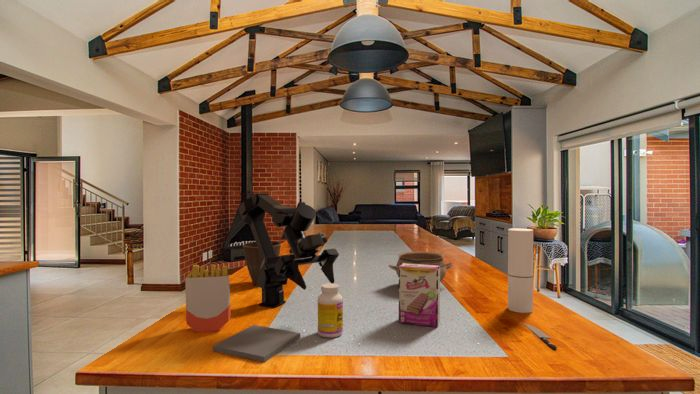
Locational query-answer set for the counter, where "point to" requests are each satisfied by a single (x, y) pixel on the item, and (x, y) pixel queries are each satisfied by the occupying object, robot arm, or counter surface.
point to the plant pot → (256, 258)
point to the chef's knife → (541, 336)
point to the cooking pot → (422, 261)
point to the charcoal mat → (257, 343)
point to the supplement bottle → (330, 311)
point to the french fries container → (207, 299)
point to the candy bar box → (419, 294)
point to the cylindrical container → (520, 270)
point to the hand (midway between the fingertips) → (319, 285)
